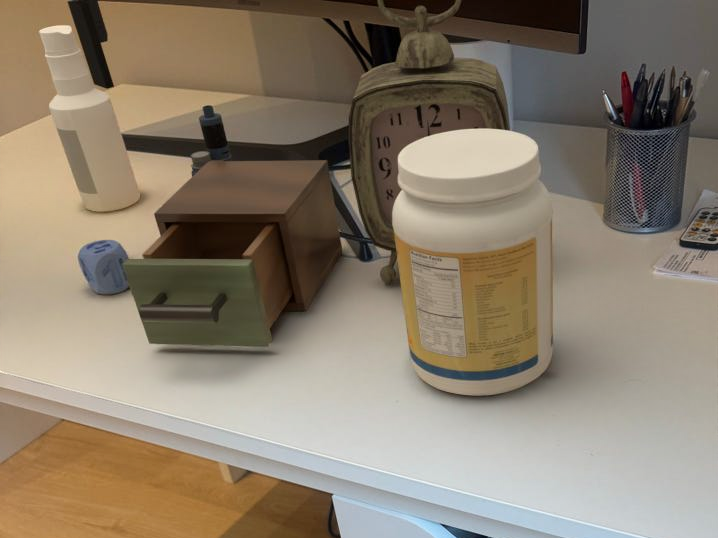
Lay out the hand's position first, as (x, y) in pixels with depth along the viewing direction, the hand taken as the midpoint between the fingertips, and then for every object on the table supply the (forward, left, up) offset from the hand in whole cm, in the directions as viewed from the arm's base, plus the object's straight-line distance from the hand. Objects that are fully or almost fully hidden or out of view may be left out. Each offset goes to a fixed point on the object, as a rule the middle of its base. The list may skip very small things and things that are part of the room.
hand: (35, 104), depth 82 cm
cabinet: (+17, +2, -17) cm, 24 cm away
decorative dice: (+1, 0, -17) cm, 17 cm away
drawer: (+17, -9, -16) cm, 25 cm away
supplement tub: (+42, -14, -17) cm, 48 cm away
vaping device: (+8, +15, -17) cm, 24 cm away
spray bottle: (-10, +23, -17) cm, 30 cm away
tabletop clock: (+35, +5, -17) cm, 39 cm away
